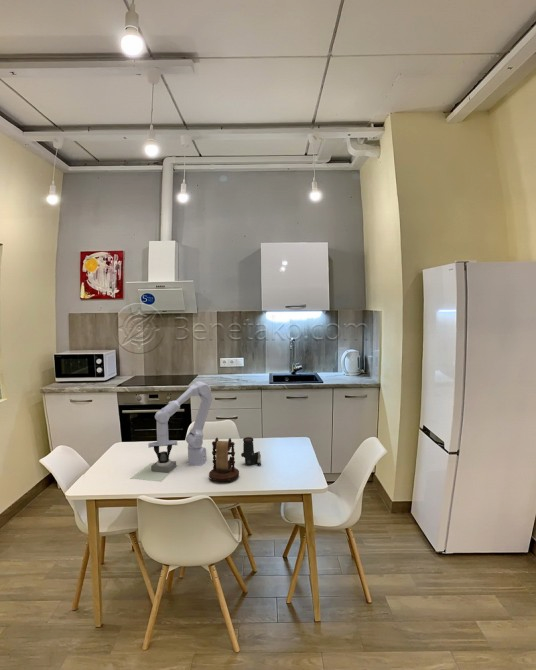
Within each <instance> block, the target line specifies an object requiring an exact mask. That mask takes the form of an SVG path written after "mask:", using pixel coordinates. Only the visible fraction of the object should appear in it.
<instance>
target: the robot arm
mask: <svg viewBox="0 0 536 670" xmlns="http://www.w3.org/2000/svg"><path fill="white" fill-rule="evenodd" d="M194 396H199V398H200V399H201V400H200V404H199V407H198V411H197V414H196V416H195V417H196V418H195V421H194V423H193V426H192V428H191V429H190V430H189V433H188V434H187V435H186V436H185V441H186V444H188V445H187V462H186V463H185V465H186V466H187V465H188V466H200V467H202V466H203V465H204V464H206V462H208V460H207V459H208V458H207V447H203V444H204V442H203V441H204V440H203V437H204V433H203V430H204V426H205V424H206V419H207V417H208V415H209V410H210V408H211V403H212V400H213V397H212V388H211V386H209V384H208V383H205V382H203V381H201V380H198V381H195V382H194V383H192V384H191V385H190V387H188V388H187V390H185V391H184V392H183V393H182V394H181V395H180V396H179V397H178V398H176V400H172V401H170V400H169V402H168V404H166V405H165V406H164V407H162V408H161V409H160V410H158V411H156V413H155V415H154V419H155V420H156V441H152V442H148V443H147V444H148V448H149V449H150V448H153V451H154V452H155V454H156V456H157V461H160V457H159V453H160V447H166V452H167V460H169V459H170V454H171V451H172V448H173V446H178V440H170V439H169V424H168V422H169V419H170V417H172V416H173V415H174V414H175V413H176V412H178V410H180V409H181V405H182V404H184V403H185V402H186V401H187V400H189V399H190V398H191V397H194Z"/></svg>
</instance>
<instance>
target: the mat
mask: <svg viewBox="0 0 536 670" xmlns="http://www.w3.org/2000/svg"><path fill="white" fill-rule="evenodd" d="M154 463H155V462H153V463H152V462H150V463H149V464H147V466H145V467H143V469H141V470H140V471H138V472H137V473H135V474H134V475H132V476H131V477H130V478H129V479H131V480H132V479H133V480H139V481H151V482H159V483H161V482H163V481H164V480H165V479H166V478H167V477H169V475H171V474H172V473H173V472H174V471H175V470H177V469H178V468H179V467H180V465H177V464H176V468H175V469H173V470H172V471H171V472H170V473H163V472H152V471H151V466H152V465H153V464H154Z"/></svg>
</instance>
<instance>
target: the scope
mask: <svg viewBox="0 0 536 670" xmlns="http://www.w3.org/2000/svg"><path fill="white" fill-rule="evenodd" d="M242 442H243V451H242V452H241V453H240V454H241V457H242V458H244V465H245V466H254V465H255V466H256V465H257V466H261V465H262V459H261V451H256V452H255V449H254V438H253V437H251V436H246V437H243V439H242Z"/></svg>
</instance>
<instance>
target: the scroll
mask: <svg viewBox="0 0 536 670" xmlns="http://www.w3.org/2000/svg"><path fill="white" fill-rule="evenodd" d="M211 445H212V452H211V454H212V456H213V457H212V465H213V467H212V469H211V470H210V471H209V473H208V478H210V480H211V482H213V481H217V482H218V481H219V482H226V481H229V482H230V483H232V481H233V480H234V479H236V478H238V477H239V475H240V470H239V469H238V468H236V467H235V465H236V461H235V459H236V458H235V454H236V451H235V442H234V441H232V438H231V437H230V438H228V440H219V437H216V438H215V440H214V441H212V443H211ZM230 455H231V456H230Z"/></svg>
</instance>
